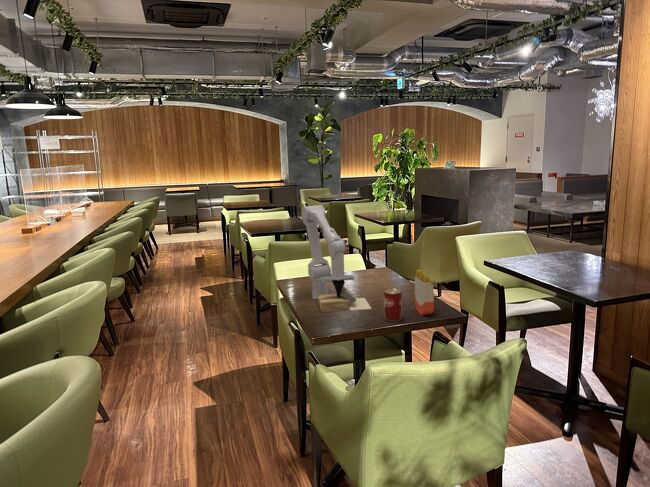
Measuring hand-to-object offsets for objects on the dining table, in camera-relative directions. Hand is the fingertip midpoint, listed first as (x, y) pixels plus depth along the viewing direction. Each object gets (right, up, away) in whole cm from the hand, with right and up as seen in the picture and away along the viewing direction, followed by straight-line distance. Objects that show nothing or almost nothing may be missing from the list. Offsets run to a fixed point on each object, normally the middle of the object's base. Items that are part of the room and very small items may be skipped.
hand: (338, 296), depth 220 cm
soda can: (+22, -8, -18) cm, 30 cm away
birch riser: (-2, -5, +1) cm, 5 cm away
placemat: (+9, -4, +2) cm, 10 cm away
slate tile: (+3, 0, +1) cm, 3 cm away
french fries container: (+36, -6, -12) cm, 39 cm away
